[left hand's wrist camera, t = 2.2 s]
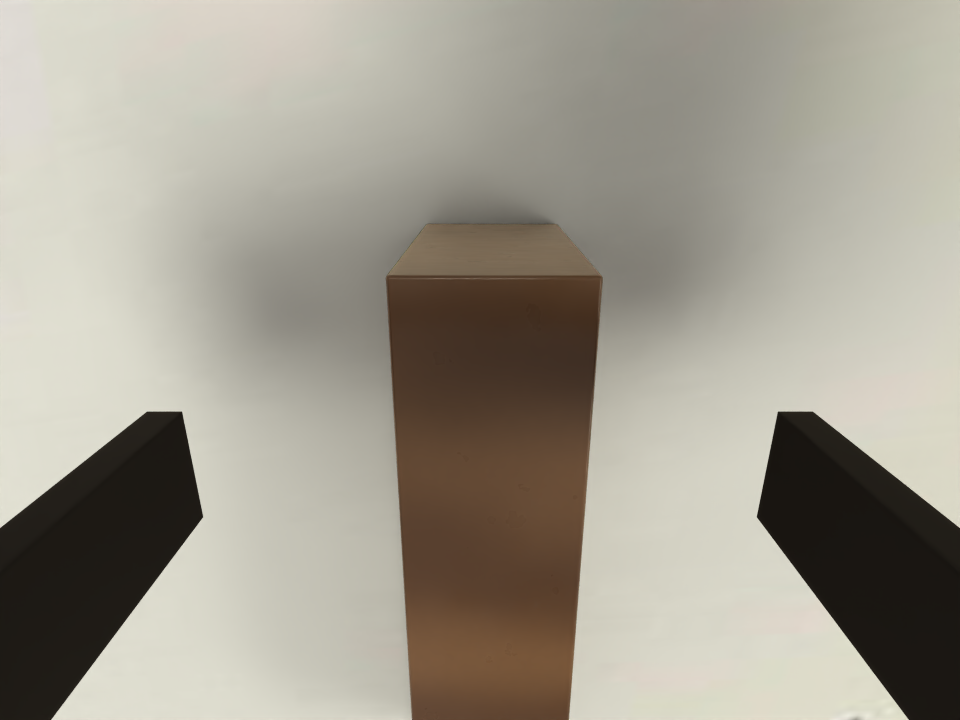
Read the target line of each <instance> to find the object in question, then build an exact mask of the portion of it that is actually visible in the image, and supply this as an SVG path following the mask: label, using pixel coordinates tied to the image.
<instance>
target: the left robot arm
mask: <svg viewBox="0 0 960 720" xmlns="http://www.w3.org/2000/svg"><path fill="white" fill-rule="evenodd" d="M202 518H203V514H202V509H201V504H200V499H199V494H198V489H197V484H196V479H195V474H194V469H193V464H192V459H191V454H190V449H189V444H188V439H187V434H186V429H185V424H184V419H183V414H182V412H146V413H145V414H144V415H142V416H141V417H140V418H139V419H137V420H136V421H135V422H134V423H132V424H131V425H130V426H128V427H127V428H126V429H125V430H123V431H122V432H121V433H120V434H118V435H117V436H116V437H115V438H113V439H112V440H111V441H110V442H108V443H107V444H106V445H104V446H103V447H102V448H101V449H99V450H98V451H97V452H96V453H94V454H93V455H92V456H91V457H89V458H88V459H87V460H86V461H84V462H83V463H82V464H81V465H79V466H78V467H77V468H75V469H74V470H73V471H72V472H70V473H69V474H68V475H67V476H65V477H64V478H63V479H62V480H60V481H59V482H58V483H57V484H55V485H54V486H53V487H51V488H50V489H49V490H48V491H46V492H45V493H44V494H43V495H41V496H40V497H39V498H38V499H36V500H35V501H34V502H33V503H31V504H30V505H29V506H28V507H26V508H25V509H24V510H22V511H21V512H20V513H19V514H17V515H16V516H15V517H14V518H12V519H11V520H10V521H9V522H7V523H6V524H5V525H4V526H2V527H1V528H0V720H51V719H52V718H53V716H54V715H55V714H56V712H57V711H58V710H59V708H60V707H61V706H62V704H63V703H64V702H65V700H66V699H67V698H68V696H69V695H70V694H71V692H72V691H73V690H74V688H75V687H76V686H77V684H78V683H79V682H80V680H81V679H82V678H83V677H84V675H85V674H86V673H87V671H88V670H89V669H90V667H91V666H92V665H93V663H94V662H95V661H96V659H97V658H98V657H99V655H100V654H101V653H102V651H103V650H104V649H105V647H106V646H107V645H108V643H109V642H110V641H111V639H112V638H113V637H114V635H115V634H116V633H117V631H118V630H119V629H120V627H121V626H122V625H123V623H124V622H125V621H126V619H127V618H128V617H129V615H130V614H131V613H132V611H133V610H134V609H135V607H136V606H137V605H138V603H139V602H140V601H141V599H142V598H143V597H144V595H145V594H146V593H147V591H148V590H149V589H150V587H151V586H152V585H153V583H154V582H155V581H156V579H157V578H158V577H159V575H160V574H161V573H162V571H163V570H164V569H165V567H166V566H167V565H168V563H169V562H170V561H171V559H172V558H173V557H174V555H175V554H176V553H177V551H178V550H179V549H180V547H181V546H182V545H183V543H184V542H185V541H186V539H187V538H188V537H189V535H190V534H191V533H192V531H193V530H194V529H195V527H196V526H197V525H198V523H199V522H200V521H201V519H202ZM757 518H758V519H759V521H760V522H761V523H762V525H763V526H764V527H765V529H766V530H767V531H768V533H769V534H770V535H771V537H772V538H773V539H774V541H775V542H776V543H777V545H778V546H779V547H780V549H781V550H782V551H783V553H784V554H785V555H786V557H787V558H788V559H789V561H790V562H791V563H792V565H793V566H794V567H795V569H796V570H797V571H798V573H799V574H800V575H801V577H802V578H803V579H804V581H805V582H806V583H807V585H808V586H809V587H810V589H811V590H812V591H813V593H814V594H815V595H816V597H817V598H818V599H819V601H820V602H821V603H822V605H823V606H824V607H825V609H826V610H827V611H828V613H829V614H830V615H831V617H832V618H833V619H834V621H835V622H836V623H837V625H838V626H839V627H840V629H841V630H842V631H843V633H844V634H845V635H846V637H847V638H848V639H849V641H850V642H851V643H852V645H853V646H854V647H855V649H856V650H857V651H858V653H859V654H860V655H861V657H862V658H863V659H864V661H865V662H866V663H867V665H868V666H869V667H870V669H871V670H872V671H873V673H874V674H875V675H876V677H877V678H878V679H879V681H880V682H881V683H882V685H883V686H884V687H885V688H886V690H887V691H888V692H889V694H890V695H891V696H892V698H893V699H894V700H895V702H896V703H897V704H898V706H899V707H900V708H901V710H902V711H903V712H904V714H905V715H906V716H907V718H908V719H909V720H960V528H959V527H958V526H956V525H955V524H954V523H953V522H951V521H950V520H949V519H948V518H946V517H945V516H944V515H943V514H941V513H940V512H939V511H938V510H936V509H935V508H934V507H932V506H931V505H930V504H929V503H927V502H926V501H925V500H924V499H922V498H921V497H920V496H919V495H917V494H916V493H915V492H914V491H912V490H911V489H910V488H909V487H907V486H906V485H905V484H903V483H902V482H901V481H900V480H898V479H897V478H896V477H895V476H893V475H892V474H891V473H890V472H888V471H887V470H886V469H885V468H883V467H882V466H881V465H879V464H878V463H877V462H876V461H874V460H873V459H872V458H871V457H869V456H868V455H867V454H866V453H864V452H863V451H862V450H861V449H859V448H858V447H857V446H855V445H854V444H853V443H852V442H850V441H849V440H848V439H847V438H845V437H844V436H843V435H842V434H840V433H839V432H838V431H837V430H835V429H834V428H833V427H832V426H830V425H829V424H828V423H826V422H825V421H824V420H823V419H821V418H820V417H819V416H818V415H816V414H815V413H814V412H778V414H777V419H776V424H775V429H774V434H773V439H772V444H771V449H770V454H769V459H768V464H767V469H766V474H765V479H764V484H763V489H762V494H761V499H760V504H759V509H758V514H757Z"/></svg>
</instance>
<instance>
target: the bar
mask: <svg viewBox="0 0 960 720" xmlns="http://www.w3.org/2000/svg"><path fill="white" fill-rule="evenodd" d="M602 283H603V278H602V276H601V275H600V273H599V272H598V271H597V270H596V269H595V268H594V267H593V265H592V264H591V263H590V262H589V261H588V260H587V258H586V257H585V256H584V255H583V254H582V253H581V251H580V250H579V249H578V248H577V247H576V246H575V245H574V243H573V242H572V241H571V240H570V239H569V238H568V236H567V235H566V234H565V233H564V232H563V231H562V229H561V228H560V227H559V226H558V225H557V224H426V226H425V227H424V228H423V230H422V231H421V232H420V233H419V235H418V236H417V237H416V239H415V240H414V241H413V242H412V244H411V245H410V246H409V248H408V249H407V250H406V252H405V253H404V254H403V255H402V257H401V258H400V259H399V261H398V262H397V263H396V264H395V266H394V267H393V268H392V270H391V271H390V272H389V273H388V275H387V276H386V289H387V306H388V322H389V339H390V356H391V373H392V390H393V407H394V424H395V441H396V458H397V475H398V492H399V509H400V526H401V543H402V559H403V576H404V593H405V610H406V627H407V644H408V661H409V678H410V695H411V712H412V720H569V711H570V698H571V685H572V672H573V659H574V646H575V633H576V620H577V607H578V594H579V581H580V568H581V555H582V542H583V529H584V516H585V503H586V490H587V477H588V464H589V451H590V438H591V425H592V412H593V399H594V386H595V373H596V360H597V347H598V335H599V322H600V309H601V296H602Z"/></svg>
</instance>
